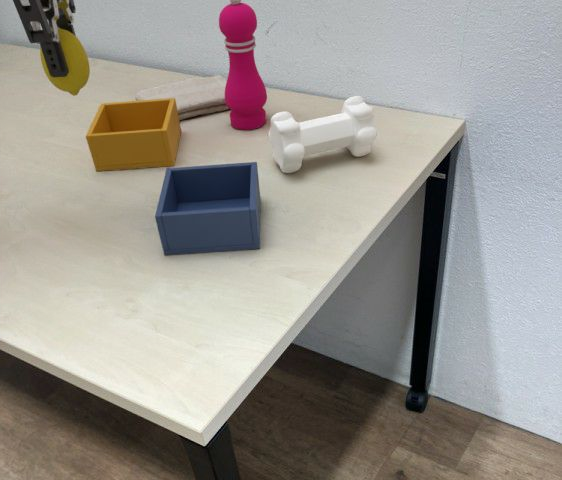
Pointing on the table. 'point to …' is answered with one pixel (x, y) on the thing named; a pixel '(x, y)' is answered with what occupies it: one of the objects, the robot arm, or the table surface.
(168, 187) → the blue bin
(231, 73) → the pepper mill
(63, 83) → the lemon
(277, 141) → the white bone
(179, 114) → the washcloth
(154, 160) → the ochre bin
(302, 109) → the table surface
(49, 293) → the table surface
